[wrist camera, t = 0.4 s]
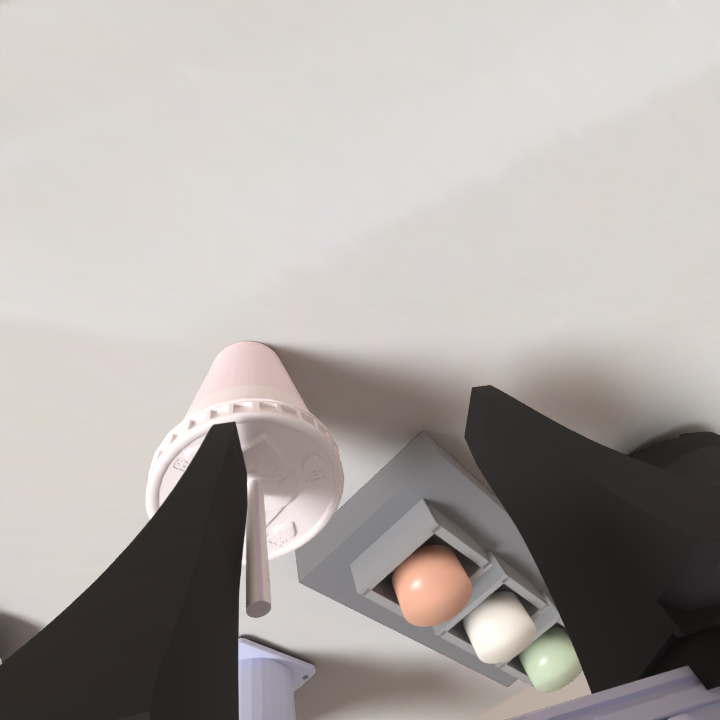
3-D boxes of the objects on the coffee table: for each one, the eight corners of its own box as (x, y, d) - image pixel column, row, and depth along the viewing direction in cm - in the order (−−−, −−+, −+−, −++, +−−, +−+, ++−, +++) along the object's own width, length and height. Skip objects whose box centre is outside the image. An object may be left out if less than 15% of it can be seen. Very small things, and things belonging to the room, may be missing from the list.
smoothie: (319, 328, 22) (419, 520, 9) (293, 429, 24) (348, 696, 11) (192, 305, 20) (104, 515, 7) (177, 418, 22) (88, 732, 9)
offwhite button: (484, 641, 30) (499, 670, 28) (451, 622, 28) (464, 652, 26) (528, 604, 30) (546, 631, 28) (498, 582, 28) (515, 609, 26)
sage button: (535, 670, 34) (551, 698, 32) (508, 655, 32) (524, 683, 30) (575, 637, 33) (594, 663, 31) (551, 620, 31) (569, 646, 29)
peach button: (420, 605, 27) (432, 635, 25) (377, 581, 25) (387, 611, 23) (469, 562, 26) (485, 589, 24) (430, 534, 24) (444, 561, 22)
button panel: (493, 658, 39) (521, 712, 35) (295, 550, 27) (302, 612, 23) (588, 578, 37) (629, 625, 33) (422, 430, 26) (453, 474, 22)
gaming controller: (661, 513, 41) (787, 484, 35) (687, 575, 37) (833, 555, 31) (567, 451, 34) (702, 402, 28) (587, 520, 30) (749, 480, 24)
